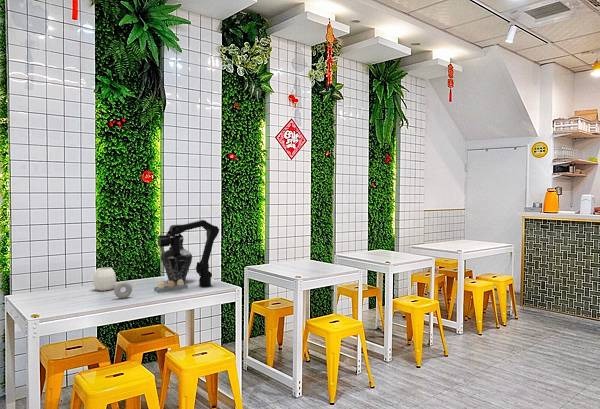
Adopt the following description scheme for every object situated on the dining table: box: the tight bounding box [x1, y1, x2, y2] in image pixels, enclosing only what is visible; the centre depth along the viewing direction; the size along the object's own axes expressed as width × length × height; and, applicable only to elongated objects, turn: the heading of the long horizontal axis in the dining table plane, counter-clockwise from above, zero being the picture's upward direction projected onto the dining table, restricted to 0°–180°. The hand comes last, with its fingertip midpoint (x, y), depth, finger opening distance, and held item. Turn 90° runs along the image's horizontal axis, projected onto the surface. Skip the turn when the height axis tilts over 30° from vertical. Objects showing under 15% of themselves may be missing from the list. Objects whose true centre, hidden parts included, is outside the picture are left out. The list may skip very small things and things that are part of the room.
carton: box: [153, 279, 189, 293], centre depth 303 cm, size 19×7×6 cm, turn 128°
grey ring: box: [113, 280, 133, 299], centre depth 280 cm, size 10×4×10 cm, turn 121°
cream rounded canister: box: [92, 266, 117, 292], centre depth 305 cm, size 13×13×14 cm
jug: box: [159, 237, 193, 284], centre depth 325 cm, size 21×19×30 cm
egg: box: [167, 280, 175, 287], centre depth 303 cm, size 4×4×5 cm
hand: (176, 270), depth 301 cm, fingers open, 9 cm apart
